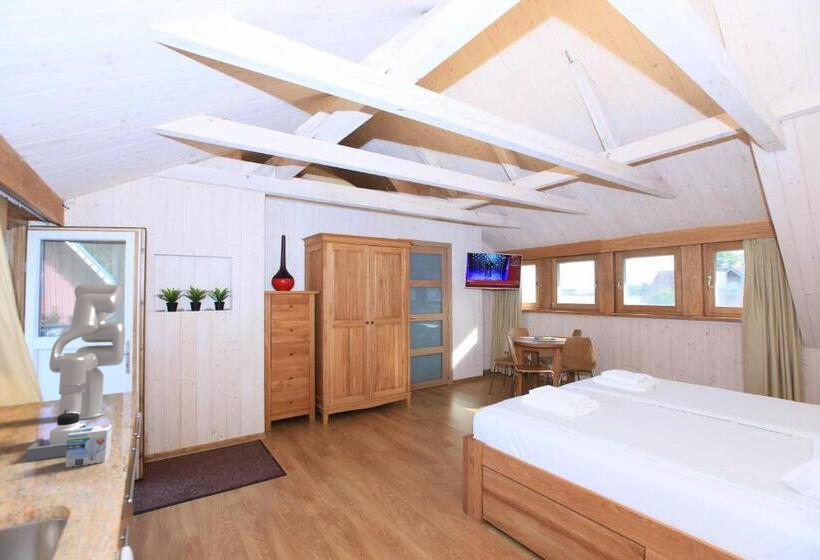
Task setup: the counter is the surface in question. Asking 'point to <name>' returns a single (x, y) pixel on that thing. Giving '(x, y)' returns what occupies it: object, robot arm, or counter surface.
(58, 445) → the bracket
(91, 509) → the counter surface
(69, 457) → the light bulb box
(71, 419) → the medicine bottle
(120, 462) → the counter surface
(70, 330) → the robot arm
